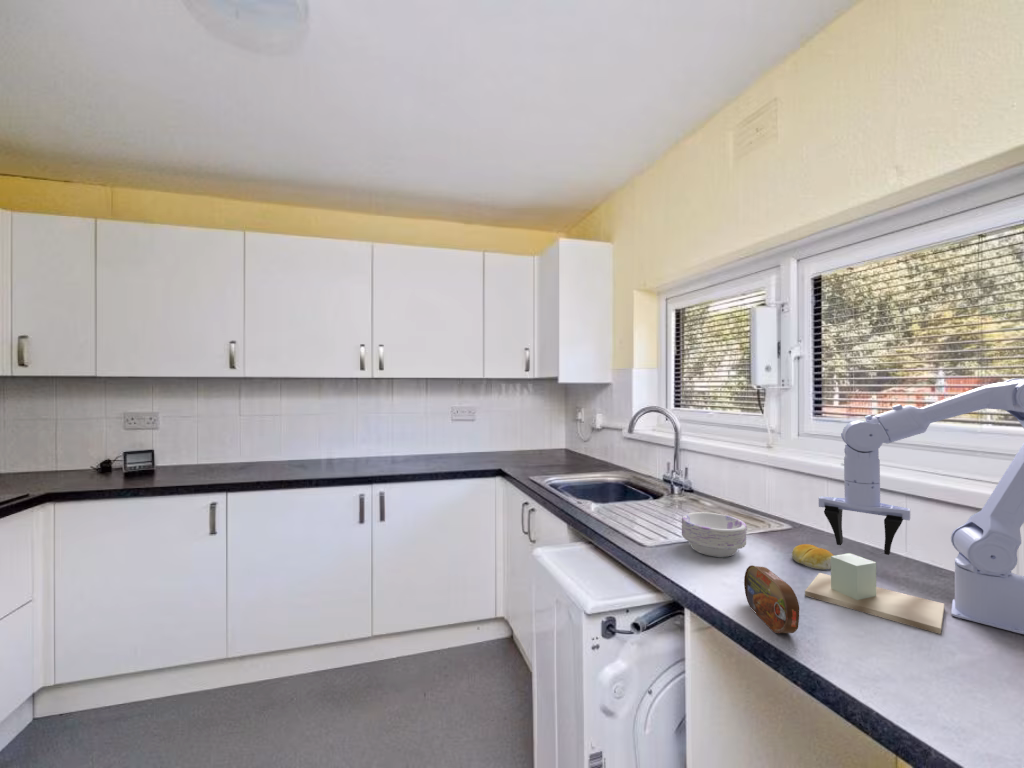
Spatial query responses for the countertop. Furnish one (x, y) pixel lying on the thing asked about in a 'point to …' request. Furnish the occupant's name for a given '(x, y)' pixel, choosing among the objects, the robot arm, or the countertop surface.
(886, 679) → the countertop surface
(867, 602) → the board
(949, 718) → the countertop surface
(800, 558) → the bread roll
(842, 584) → the pale green block
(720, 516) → the paper bowls
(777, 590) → the tin
